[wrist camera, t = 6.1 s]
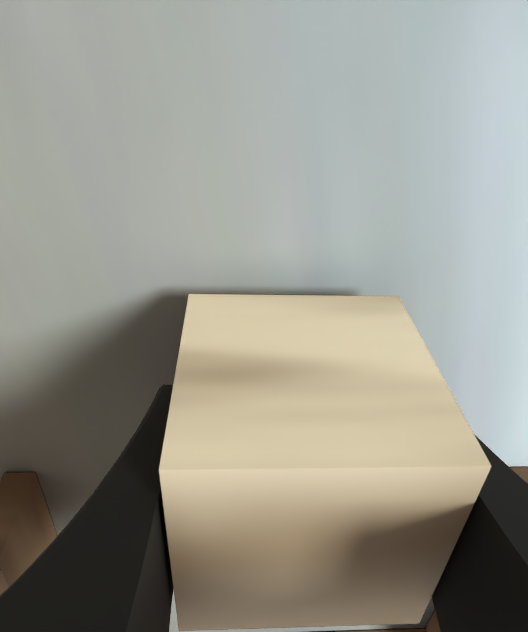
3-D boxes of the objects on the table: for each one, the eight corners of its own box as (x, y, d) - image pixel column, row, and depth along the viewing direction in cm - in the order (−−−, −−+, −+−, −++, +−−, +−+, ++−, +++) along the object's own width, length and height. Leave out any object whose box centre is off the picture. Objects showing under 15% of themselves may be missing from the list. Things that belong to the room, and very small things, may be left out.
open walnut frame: (440, 637, 24) (464, 711, 21) (74, 649, 23) (54, 729, 20) (531, 467, 17) (583, 548, 14) (4, 472, 16) (-41, 562, 13)
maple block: (365, 440, 14) (419, 623, 10) (196, 441, 14) (179, 631, 10) (398, 296, 11) (491, 466, 7) (189, 294, 11) (158, 469, 7)
